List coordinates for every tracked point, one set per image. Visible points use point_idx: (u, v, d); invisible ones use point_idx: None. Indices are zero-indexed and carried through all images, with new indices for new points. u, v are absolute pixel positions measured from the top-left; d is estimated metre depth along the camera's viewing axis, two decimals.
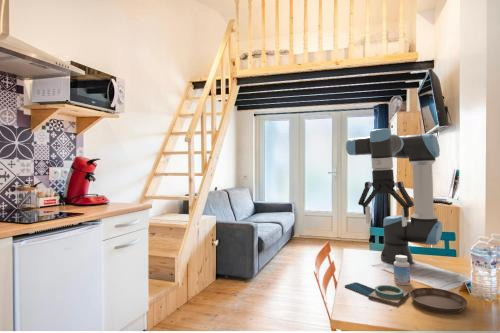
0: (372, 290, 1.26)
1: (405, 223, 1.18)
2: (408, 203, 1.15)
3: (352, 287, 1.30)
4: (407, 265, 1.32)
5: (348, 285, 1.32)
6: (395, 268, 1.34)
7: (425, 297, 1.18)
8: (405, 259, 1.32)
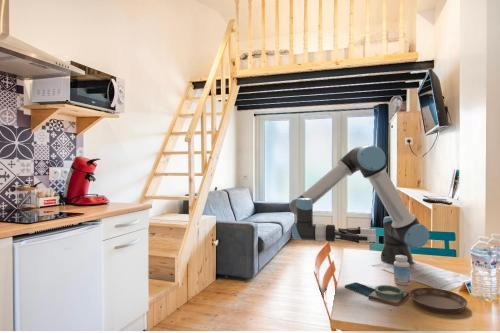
0: (372, 290, 1.26)
1: (373, 238, 1.32)
2: None
3: (352, 287, 1.30)
4: (407, 265, 1.32)
5: (348, 285, 1.32)
6: (395, 268, 1.34)
7: (425, 297, 1.18)
8: (405, 259, 1.32)
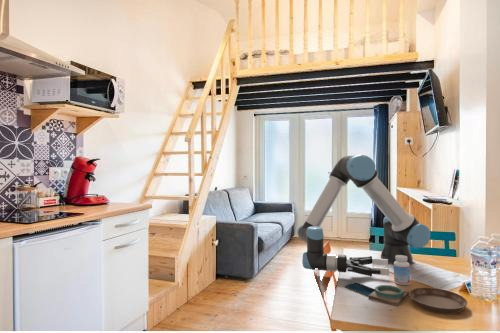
0: (372, 290, 1.26)
1: (386, 272, 1.30)
2: None
3: (352, 287, 1.30)
4: (407, 265, 1.32)
5: (348, 285, 1.32)
6: (395, 268, 1.34)
7: (425, 297, 1.18)
8: (405, 259, 1.32)
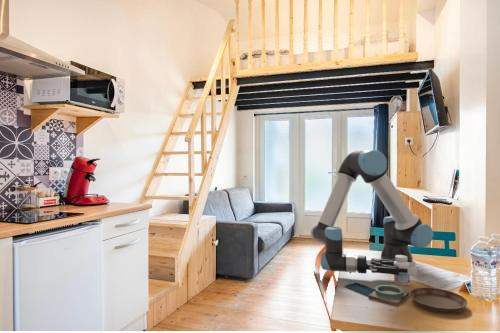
0: (372, 290, 1.26)
1: (414, 271, 1.30)
2: None
3: (352, 287, 1.30)
4: (407, 265, 1.32)
5: (348, 285, 1.32)
6: None
7: (425, 297, 1.18)
8: (405, 259, 1.32)
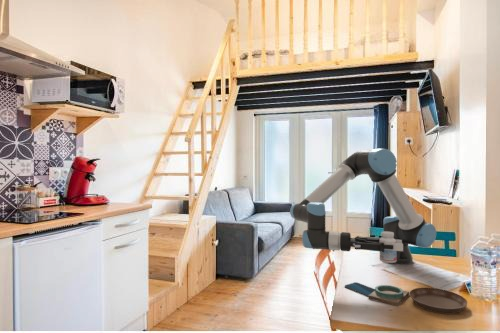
0: (372, 290, 1.26)
1: (400, 247, 1.20)
2: None
3: (352, 287, 1.30)
4: (393, 241, 1.22)
5: (348, 285, 1.32)
6: None
7: (425, 297, 1.18)
8: (391, 235, 1.23)
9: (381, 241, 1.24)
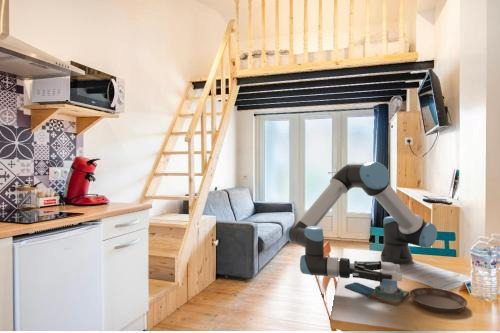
0: (372, 290, 1.26)
1: (399, 277, 1.14)
2: None
3: (352, 287, 1.29)
4: None
5: (348, 285, 1.32)
6: None
7: (425, 297, 1.18)
8: (392, 267, 1.19)
9: None
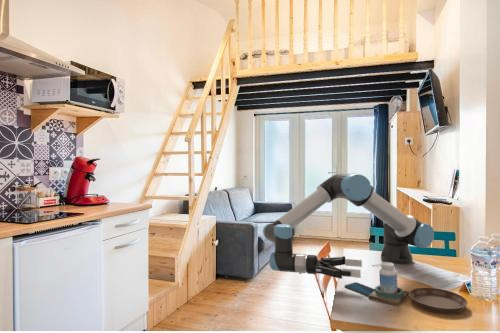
0: (372, 290, 1.26)
1: (357, 273, 1.18)
2: None
3: (352, 287, 1.29)
4: (394, 274, 1.18)
5: (348, 285, 1.32)
6: (381, 277, 1.20)
7: (426, 297, 1.18)
8: (392, 267, 1.19)
9: (381, 273, 1.20)
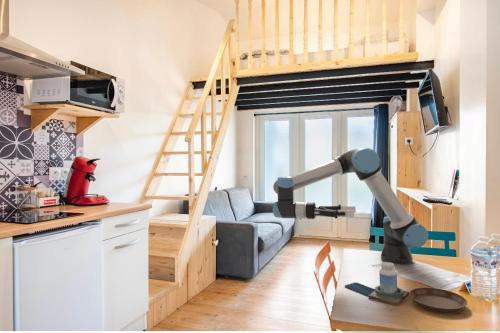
0: (372, 290, 1.26)
1: (351, 213, 1.33)
2: None
3: (352, 287, 1.29)
4: (394, 274, 1.18)
5: (348, 285, 1.32)
6: (381, 277, 1.20)
7: (426, 297, 1.18)
8: (392, 267, 1.19)
9: (381, 273, 1.20)
